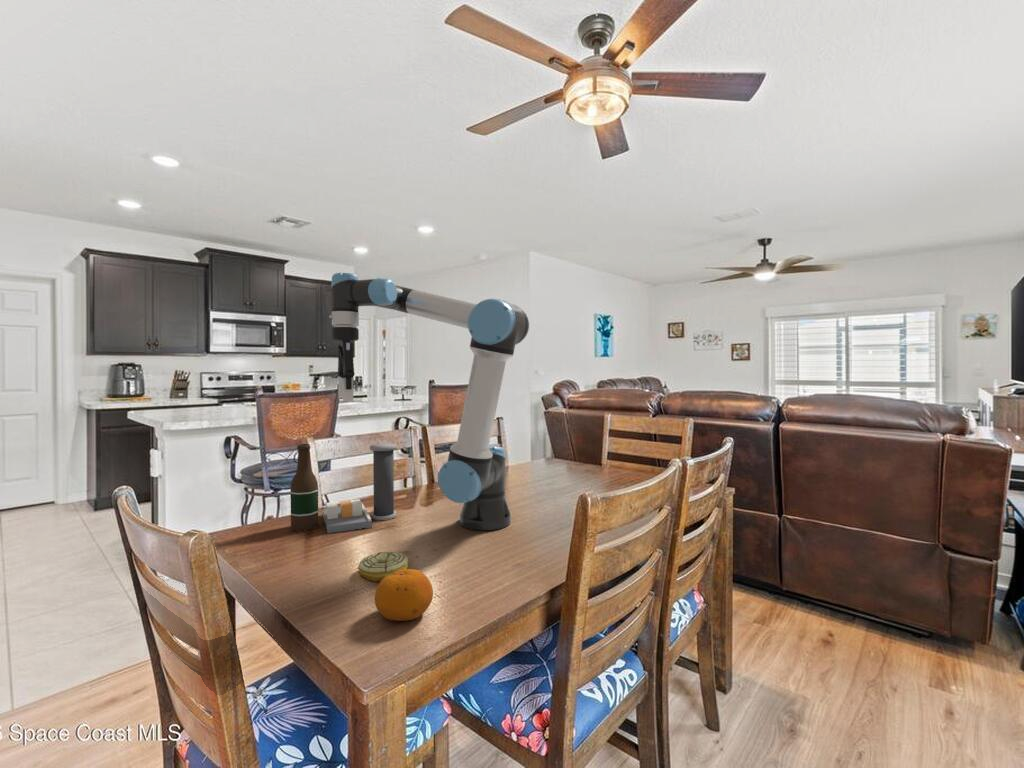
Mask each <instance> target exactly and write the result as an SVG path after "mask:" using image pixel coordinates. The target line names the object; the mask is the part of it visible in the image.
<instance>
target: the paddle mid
mask: <svg viewBox="0 0 1024 768" xmlns="http://www.w3.org/2000/svg"><path fill="white" fill-rule="evenodd" d="M350 500H351V499H350ZM350 500H342V501H341V500H340V506H339V507H340V513H341V515H342V518H343V517H351V516H352V503H351V501H350Z"/></svg>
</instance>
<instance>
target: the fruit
mask: <svg viewBox="0 0 1024 768" xmlns="http://www.w3.org/2000/svg"><path fill="white" fill-rule="evenodd" d="M433 597H434V589H433V585H432V582H431V581H430V579H429V577H428V576H427V575H426V574H425V573H424V572H422V571H421V570H418V569H415V568H414V569H412V568H407V569H404V570H399V571H396V572H395V573H392V574H390V575H388V576H386V577H385V578H384V579H383V580H381V581H379V583H378V584H377V587H376V589H375V593H374V605H375V607H376V610H377V611H378V612H379V613H380V614H381V615H382V616H383V617H384V618H385V619H387V620H391V621H399V622H403V621H404V622H405V621H412V620H415V619H418V618H419V617H420V616H422V615H423V614H424V613H425V612H426V611H427V609H428V608H429V607H430V605H431V603H432V602H433Z"/></svg>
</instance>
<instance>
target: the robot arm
mask: <svg viewBox="0 0 1024 768" xmlns="http://www.w3.org/2000/svg"><path fill="white" fill-rule="evenodd" d="M330 293H331V314H329V317H328V318H329V319H331V325H332V327H331V340H333V341H339V344H338V345H337V357H338V358H337V359H338V360H337V373H336V374H337V376H338V377H337V380H338V381H337V382H338V391H337V392H338V399H342V400H343V401H342V402H354V377H355V367H354V366H355V365H354V347H353V346H354V344H353V342H355V341H356V342H358V341H359V338H360V337H359V335H360V334H359V328H358V326H360V325H359V324H360V318H359V317H360V316H359V315H360V313H359V307H378V308H382V309H389V310H393V311H397V312H400V313H401V312H402V313H405V314H411V315H412V316H418V317H420V318H421V317H422V318H425V319H430V320H434V321H437V322H442V323H446V324H448V325H451V326H456V327H461V328H463V329H464V328H465V329H468V331H469V334H470V335H471V338H470V344H469V349H470V350H471V352H472V353H473V359H472V364H471V369H470V375H469V380H468V384H467V390H466V395H465V400H464V405H463V410H462V415H461V419H460V424H459V425H460V426H459V430H458V437H457V440H456V442H454V443H453V444H452V445H450V448H449V452H448V457H447V461H446V462H445V463H443V465H442V466H441V467H440V469H439V471H438V474H437V483H438V487H439V490H440V491H441V492H442V493H443V495H444V497H446V499H448V500H449V501H451V502H453V503H456V504H463V505H462V508H461V511H460V514H459V524H460V526H462V527H464V528H465V529H470V530H474V531H493V530H499V529H504V528H506V527H508V526H509V525H510V524H511V523H512V522H511V521H512V519H511V517H512V516H511V515H512V514H511V511H510V509H509V504H508V502H507V499H506V460H507V458H506V450H505V448H503V446H498V445H497V446H495V445H490V441H491V438H492V432H493V429H494V428H493V427H494V424H495V423H494V422H495V418H496V413H497V412H496V411H497V407H498V404H499V403H498V402H499V397H500V393H501V392H500V391H501V387H502V384H503V379H504V378H503V377H504V372H505V368H506V363H507V361H508V360H509V359H512V357H513V356H514V352H515V348H516V345H518V344H520V343H521V342H523V340H525V338H526V337H527V335H528V333H529V330H530V329H529V328H530V322H529V317H528V316H527V313H526V312H525V311H524V309H522V308H521V307H519V306H518V305H515V304H512V303H510V302H508V301H506V300H502V299H500V298H499V299H498V298H486V299H483V300H481V301H480V302H478V303H473V302H469V301H464V300H460V299H457V298H456V299H455V298H452V297H447V296H443V295H439V294H434V293H430V292H426V291H421V290H418V289H417V290H416V289H412V288H409V287H404V286H400V285H397V284H395V283H394V282H393V280H392V279H390V278H380V277H377V278H371V279H369V278H367V279H359V276H358V275H357V274H355V273H350V272H336V273H333V274H332V276H331V285H330Z"/></svg>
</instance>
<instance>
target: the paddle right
mask: <svg viewBox="0 0 1024 768" xmlns="http://www.w3.org/2000/svg"><path fill="white" fill-rule="evenodd" d="M350 501H351V503H352V516H359V515H362V503H363V502H362V500H361V499H359V498H358V499H350Z"/></svg>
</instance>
